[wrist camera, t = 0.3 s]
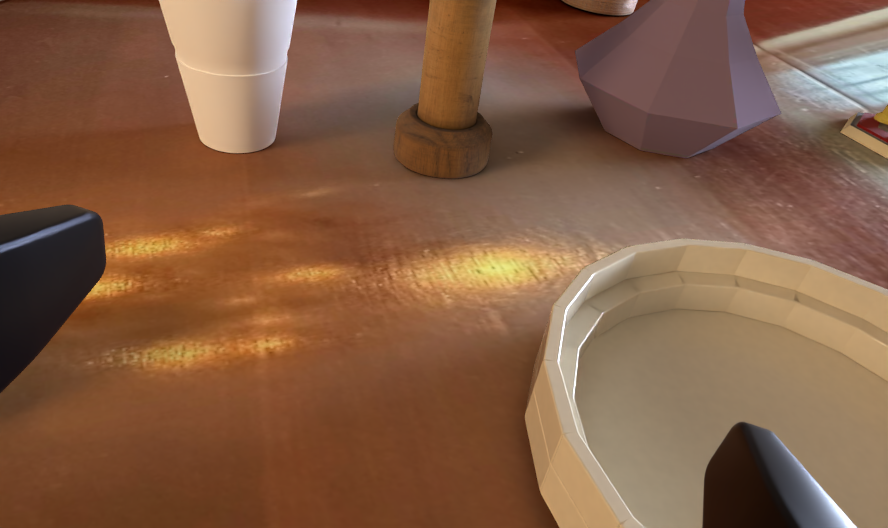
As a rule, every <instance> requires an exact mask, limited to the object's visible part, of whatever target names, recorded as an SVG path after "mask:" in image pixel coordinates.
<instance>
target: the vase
mask: <svg viewBox="0 0 888 528" xmlns="http://www.w3.org/2000/svg"><path fill="white" fill-rule="evenodd" d="M561 1H562V2H564V3H565V4H567V5H569V6H571V7H573V8H576V9H579V10H582V11H585V12H589V13H594V14H599V15H606V16H626V15H630V14H632V13H633V11H634V9H635V6H636V3H637V0H561Z"/></svg>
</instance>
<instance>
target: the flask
mask: <svg viewBox="0 0 888 528" xmlns="http://www.w3.org/2000/svg"><path fill="white" fill-rule="evenodd" d="M744 4H745V0H650V1H649V2H648V3H646V4H645V5H644V6H642V7H641V8H640V9H638V10H637V11H636V12H634V13H633V14H632V15H630V16H629V17H628V18H626V19H625V20H624V21H622V22H620V23H619V24H617V25H616V26H614V27H612V28H611V29H609V30H608V31H606V32H604V33H603V34H601V35H600V36H598V37H596V38H595V39H593V40H592V41H590V42H588V43H587V44H585V45H584V46H582V47H580V48H579V49H577V50H576V51H575V54H576V59H577V65H578V71H579V76H580V80H581V82H582V84H583V86H584V88H585V90H586V92H587V94H588V96H589V99H590V101H591V103H592V105H593V107H594V109H595V111H596V113H597V115H598V117H599V119H600V121H601V124H602V126H603V128H604V130H605V131H606V132H608V133H610V134H612V135H613V136H615V137H617V138H619V139H621V140H623V141H624V142H626V143H628V144H630V145H632V146H633V147H635V148H637V149H639V150H641V151H647V152H652V153H658V154H664V155H670V156H675V157H681V158H689V157H691V156H694V155H697V154H700V153H702V152H705V151H708V150H710V149H713V148H715V147H717V146H718V145H720V144H722V143H724V142H726V141H728V140H730V139H732V138H734V137H736V136H738V135H740V134H742V133H744V132H746V131H748V130H750V129H752V128H754V127H756V126H758V125H760V124H761V123H763V122H765V121H767V120H769V119H771V118H773V117H775V116H777V115H779V114H781V111H780V109H779V107H778V105H777V102H776V100H775V98H774V95H773V93H772V91H771V88H770V86H769V84H768V81H767V79H766V77H765V74H764V72H763V70H762V67H761V65H760V63H759V61H758V58H757V55H756V52H755V49H754V46H753V43H752V40H751V36H750V33H749V30H748V27H747V24H746V21H745V18H744V15H743V12H744Z"/></svg>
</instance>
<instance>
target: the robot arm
mask: <svg viewBox="0 0 888 528" xmlns="http://www.w3.org/2000/svg"><path fill="white" fill-rule="evenodd" d="M105 266H106V253H105V242H104V230H103V222H102V219H101V217H100V216H99V215H98V214H97V213H96V212H93V211H90V210H87V209H84V208H81V207H78V206H75V205H61V206H55V207H49V208H43V209H36V210H30V211H24V212H18V213H12V214H5V215H0V393H1V392H2V391H3V390H4V389H5V388H6V387H7V386H8V385H9V384H10V383H11V382H12V381H13V380H14V379H15V378H16V377H17V376H18V375H19V374H20V373H21V372H22V371H23V370H24V369H25V368H26V367H27V366H28V365H29V364H30V363H31V362H32V361H33V360H34V358H35V357H36V356H37V355H38V354H39V353H40V351H41V350H42V349H43V348H44V347H45V346H46V345H47V343H48V342H49V341H50V340H51V338H52V337H53V336H54V335H55V334H56V332H57V331H58V330H59V329H60V327H61V326H62V325H63V324H64V323H65V321H66V320H67V319H68V318H69V316H70V315H71V314H72V313H73V312H74V310H75V309H76V308H77V307H78V305H79V304H80V303H81V302H82V301H83V299H84V298H85V297H86V296H87V294H88V293H89V292H90V291H91V289H92V288H93V287H94V286H95V285H96V283H97V282H98V281H99V280H100V278H101V277H102V275H103V273H104V270H105ZM702 528H857V527H856V526H855V525H854V524H853V523H852V521H851V520H850V519H849V518H848V517H847V516H846V515H845V514H844V512H843V511H842V510H841V509H840V508H839V507H838V506H837V504H836V503H835V502H834V501H833V500H832V499H831V498H830V496H829V495H828V494H827V493H826V492H825V491H824V490H823V488H822V487H821V486H820V485H819V484H818V483H817V482H816V480H815V479H814V478H813V477H812V476H811V475H810V474H809V472H808V471H807V470H806V469H805V468H804V467H803V466H802V464H801V463H800V462H799V461H798V460H797V459H796V458H795V456H794V455H793V454H792V453H791V452H790V451H789V450H788V448H787V447H786V446H785V445H784V444H783V443H782V442H781V440H780V439H779V438H778V437H777V436H776V435H775V434H774V433H773V432H772V431H770V430H768V429H765V428H762V427H759V426H756V425H753V424H750V423H747V422H738V423H736V424H735V425H734V426H733V427H732V428H731V429H730V431H729V432H728V434H727V435H726V437H725V438H724V440H723V441H722V443H721V444H720V446H719V447H718V449H717V450H716V452H715V453H714V455H713V456H712V458H711V459H710V461H709V463H708V465H707V468H706V471H705V476H704V495H703V522H702Z"/></svg>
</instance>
